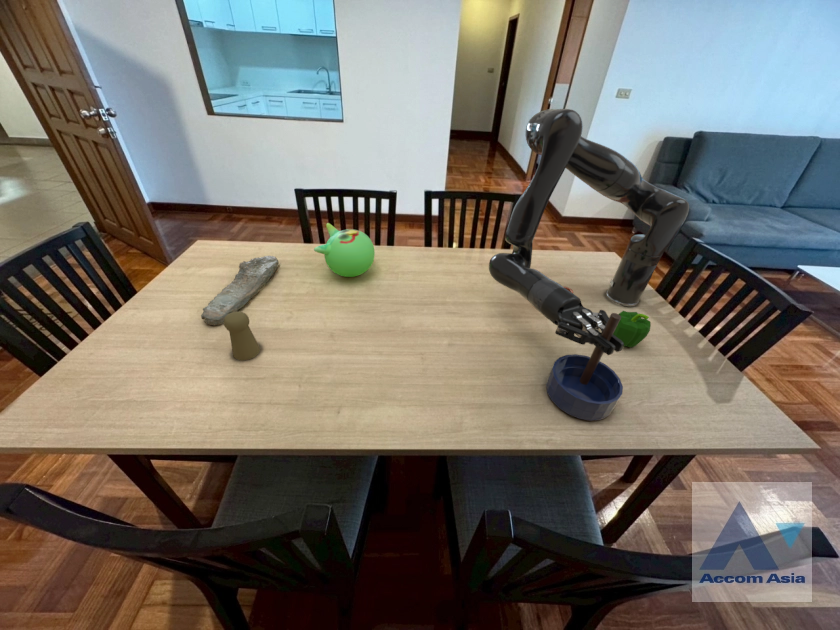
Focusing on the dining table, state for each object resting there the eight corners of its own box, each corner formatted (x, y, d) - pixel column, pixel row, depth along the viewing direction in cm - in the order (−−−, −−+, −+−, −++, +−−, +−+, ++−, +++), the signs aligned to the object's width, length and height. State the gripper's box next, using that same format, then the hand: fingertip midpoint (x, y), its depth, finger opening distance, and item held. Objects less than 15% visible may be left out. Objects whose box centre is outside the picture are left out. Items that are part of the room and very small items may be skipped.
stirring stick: (583, 377, 78) (615, 312, 67) (589, 383, 76) (623, 317, 65) (577, 380, 77) (608, 314, 66) (583, 385, 76) (616, 319, 65)
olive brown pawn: (265, 347, 87) (255, 311, 80) (248, 363, 82) (235, 326, 76) (245, 340, 88) (233, 305, 82) (227, 356, 84) (213, 320, 77)
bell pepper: (599, 335, 97) (612, 306, 91) (620, 329, 100) (635, 300, 94) (623, 355, 91) (640, 325, 85) (646, 348, 94) (663, 318, 88)
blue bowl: (577, 365, 87) (585, 347, 83) (626, 408, 77) (637, 390, 73) (532, 383, 82) (539, 364, 78) (578, 431, 72) (588, 413, 68)
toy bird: (371, 287, 111) (369, 244, 102) (317, 284, 111) (311, 241, 102) (377, 259, 125) (376, 220, 116) (330, 257, 125) (325, 217, 116)
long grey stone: (193, 327, 93) (229, 334, 93) (187, 312, 90) (224, 319, 89) (258, 259, 120) (286, 264, 119) (255, 246, 116) (284, 250, 116)
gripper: (533, 293, 75) (598, 344, 62) (581, 281, 80) (649, 326, 68) (525, 321, 79) (584, 373, 67) (570, 308, 84) (633, 354, 72)
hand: (616, 349), depth 67 cm, fingers closed on stirring stick, 2 cm apart
